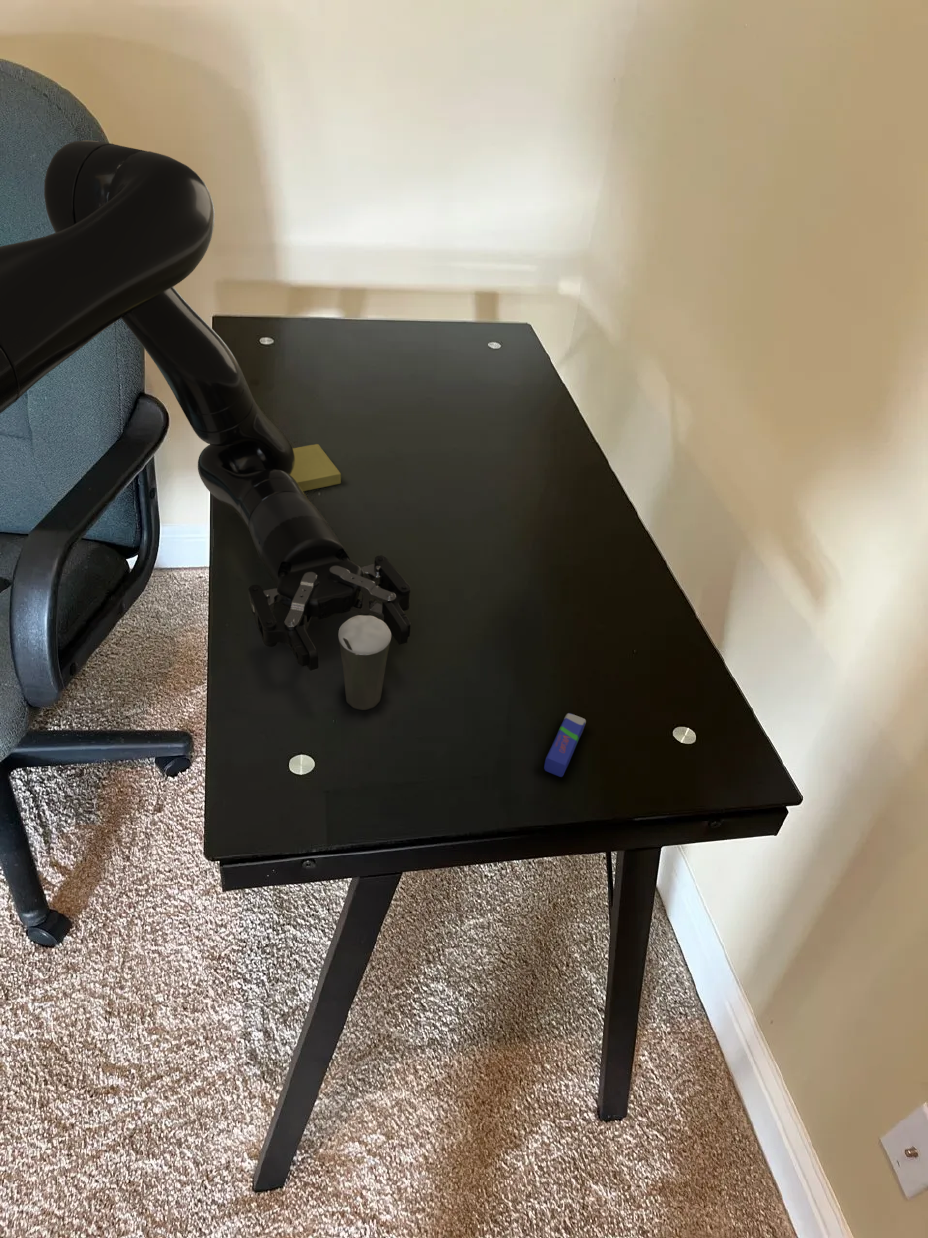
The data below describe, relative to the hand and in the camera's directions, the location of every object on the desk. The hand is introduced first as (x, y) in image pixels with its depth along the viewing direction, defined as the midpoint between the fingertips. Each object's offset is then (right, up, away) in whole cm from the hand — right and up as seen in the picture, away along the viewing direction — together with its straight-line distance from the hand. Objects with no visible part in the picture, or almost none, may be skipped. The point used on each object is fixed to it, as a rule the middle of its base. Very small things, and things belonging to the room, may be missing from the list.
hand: (360, 649), depth 73 cm
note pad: (-11, +21, +31) cm, 39 cm away
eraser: (+18, -9, +2) cm, 20 cm away
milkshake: (-1, -5, +4) cm, 7 cm away
